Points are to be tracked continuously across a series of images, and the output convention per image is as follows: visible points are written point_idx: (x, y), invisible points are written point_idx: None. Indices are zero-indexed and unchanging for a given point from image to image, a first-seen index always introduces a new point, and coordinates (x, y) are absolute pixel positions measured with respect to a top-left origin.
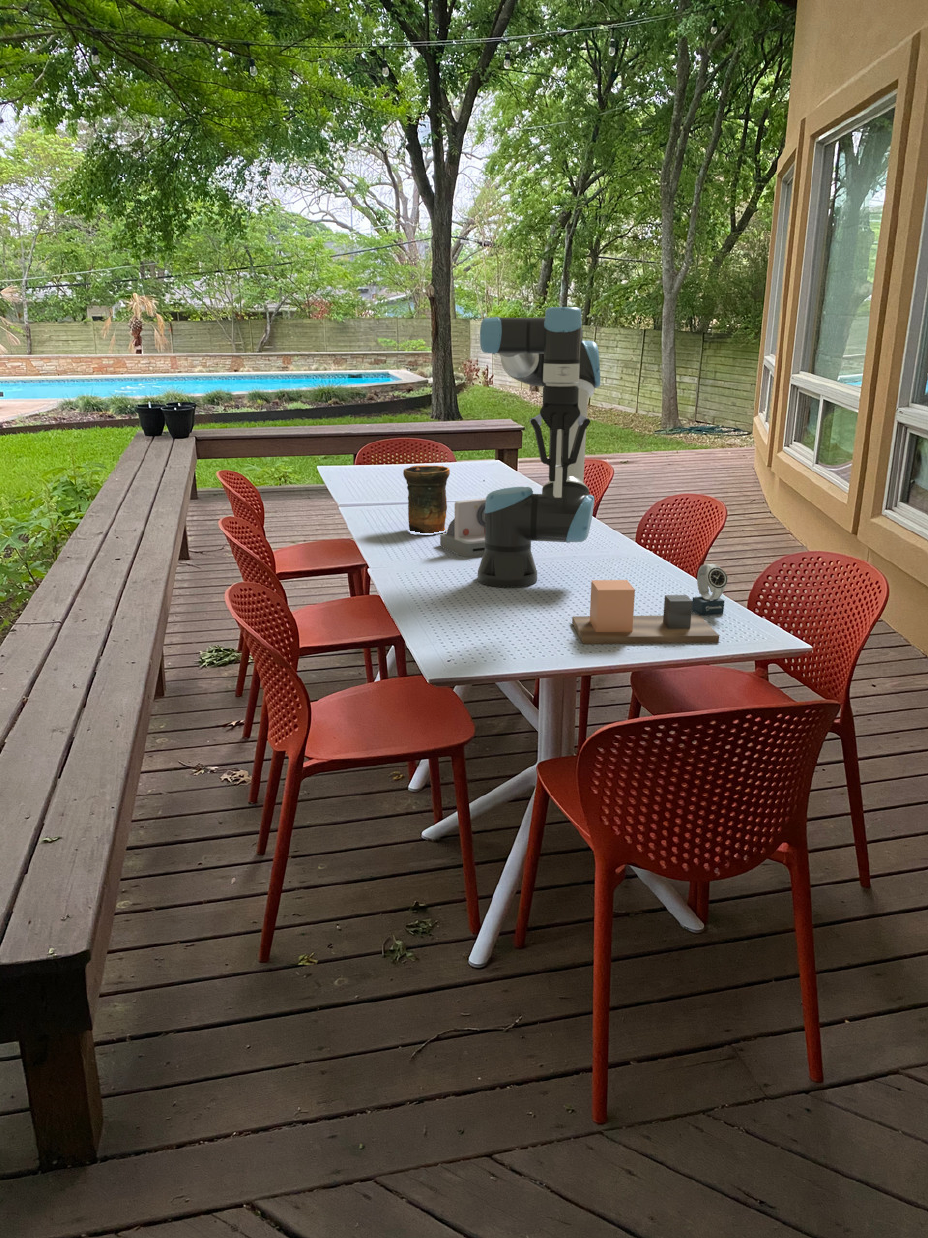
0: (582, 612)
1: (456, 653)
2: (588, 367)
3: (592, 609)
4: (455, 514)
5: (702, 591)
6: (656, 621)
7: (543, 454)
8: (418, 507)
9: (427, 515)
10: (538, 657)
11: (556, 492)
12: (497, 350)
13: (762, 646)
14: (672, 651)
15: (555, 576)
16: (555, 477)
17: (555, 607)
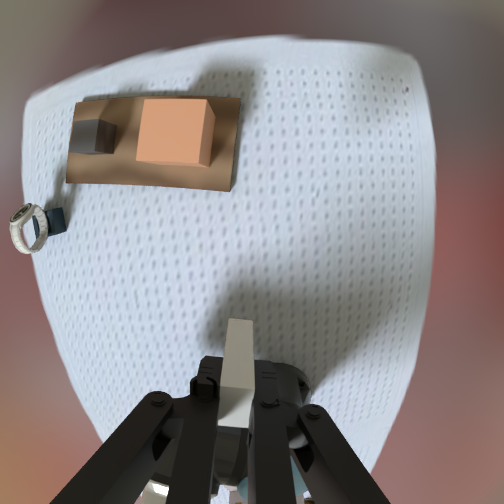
0: (201, 240)
1: (399, 108)
2: None
3: (208, 146)
4: (303, 500)
5: (43, 236)
6: (120, 157)
7: (328, 437)
8: None
9: None
10: (310, 68)
11: (247, 327)
12: None
13: (50, 96)
14: (139, 72)
15: None
16: (253, 360)
17: (235, 270)
